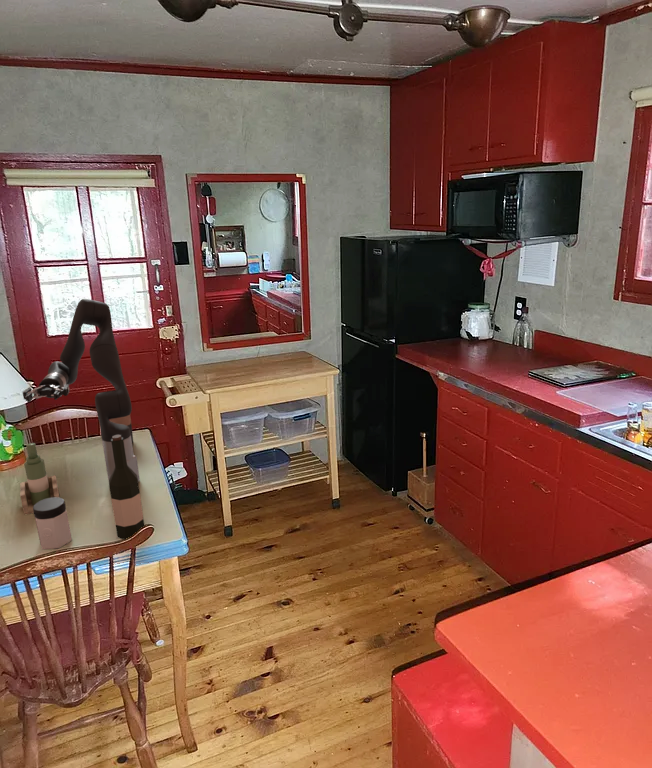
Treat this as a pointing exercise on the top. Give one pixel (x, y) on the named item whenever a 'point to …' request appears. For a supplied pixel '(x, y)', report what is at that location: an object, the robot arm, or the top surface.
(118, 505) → the wine bottle
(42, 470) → the green bottle
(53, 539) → the jar
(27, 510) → the cradle
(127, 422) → the travel mug
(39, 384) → the robot arm
